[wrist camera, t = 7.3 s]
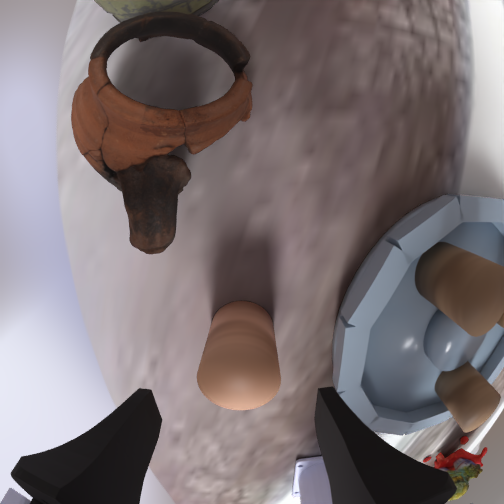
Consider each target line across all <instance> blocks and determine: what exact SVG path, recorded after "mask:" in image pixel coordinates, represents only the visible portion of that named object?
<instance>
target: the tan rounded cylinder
mask: <svg viewBox="0 0 504 504" xmlns="http://www.w3.org/2000/svg"><path fill="white" fill-rule="evenodd" d="M434 389H435V392H436V393H437V395H438V396H439V397H440V399H441V400H442V402H443V403H444V404H445V406H446V407H447V409H448V410H449V411H450V413H451V414H452V416H453V417H454V419H455V420H456V422H457V423H458V424H459V426H460V427H461V429H462V430H463V432H465V433H466V432H470V431H472V430H474V429H476V428H477V427H479V426H480V425H481V424H483V423H484V422H485V421H486V420H487V419H488V418H489V417H490V416H491V414H492V413H493V412H494V411H495V409H496V408H497V406H498V404H499V402H500V398H501V396H500V394H499V393H498V392H497V391H496V390H495V389H494V388H493V387H492V385H491V384H490V383H489V382H488V381H487V380H486V379H485V378H484V377H483V376H482V375H481V374H480V373H479V372H478V371H477V370H476V369H475V368H474V367H473V366H472V365H471V364H470V363H469V362H468V361H467V362H466V363H465V364H463V365H462V366H460V367H458V368H457V369H454V370H451V371H442V373H441V374H440V375H439V377H438V379H437V380H436V383H435V388H434Z"/></svg>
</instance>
